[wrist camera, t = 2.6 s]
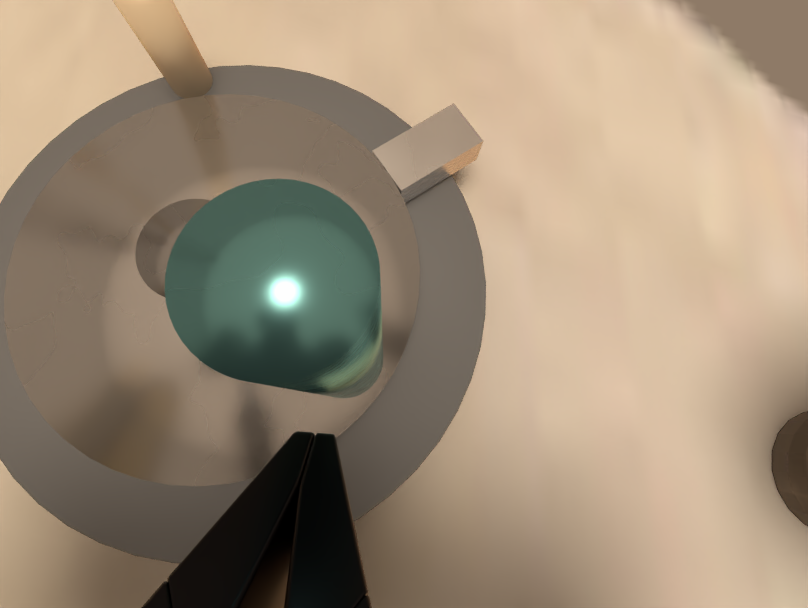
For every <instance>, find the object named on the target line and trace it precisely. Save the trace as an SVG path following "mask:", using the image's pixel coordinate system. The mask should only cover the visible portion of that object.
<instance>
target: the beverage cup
mask: <svg viewBox="0 0 808 608" xmlns="http://www.w3.org/2000/svg"><path fill="white" fill-rule="evenodd" d="M772 471H773V474H774V478H775V482H776V485H777V489H778V491H779V493H780V495H781V496H782V498H783V500H784V501H785V503H786V505H787V506H788V508H789V509H790V510H791V511H792V512H793V513H794V514H795V515H796V516H797V517H798V518H799V519H800V520H801V521H802V522H803V523H804V524H805V525H807V526H808V412H804V413H802V414H800V415H798V416H796V417H794V418H793V419H791V420H789V421H788V422H787V423H786V425H785V426H784V427H783V428H782V430H781V431H780V432H779V433H778V436H777V439H776V442H775V445H774V448H773V450H772Z"/></svg>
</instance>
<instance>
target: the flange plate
mask: <svg viewBox="0 0 808 608" xmlns="http://www.w3.org/2000/svg"><path fill="white" fill-rule="evenodd" d="M482 143H483V140H482V139H481V137H480V136H479V135H478V134H477V132H476V131H475V130H474V129H473V127H472V126H471V125H470V123H469V122H468V121H467V120H466V118H465V117H464V116H463V115H462V113H461V112H460V111H459V109H458V108H457V107H456V106H455V104H452V105H450V106H448V107H447V108H445V109H443V110H442V111H440V112H438V113H436V114H435V115H433V116H431V117H429V118H428V119H426V120H424V121H423V122H421V123H419V124H417V125H416V126H414V127H412V128H410V129H409V130H407V131H405V132H404V133H402V134H400V135H398V136H397V137H395V138H393V139H391V140H390V141H388V142H386V143H385V144H383V145H381V146H379V147H378V148H376V149H374V150H372V153H371V152H370V151H369V150H368V149H367V148H366V147H365V146H364V145H363V144H362V143H361V142H360V141H359V140H357V139H356V138H355V137H354V136H352V135H351V134H350V133H349V132H347V131H346V130H345V129H343V128H342V127H340V126H338V125H337V124H335V123H333V122H332V121H330V120H329V119H327V118H325V117H323V116H321V115H319V114H317V113H314V112H312V111H310V110H308V109H306V108H303V107H300V106H297V105H294V104H291V103H288V102H284V101H281V100H276V99H271V98H266V97H261V96H253V95H239V94H221V95H205V96H198V97H191V98H185V99H180V100H177V101H173V102H169V103H165V104H162V105H158V106H156V107H153V108H150V109H148V110H145V111H143V112H140V113H137V114H135V115H133V116H131V117H129V118H127V119H125V120H123V121H121V122H119V123H118V124H116V125H114V126H112V127H110V128H109V129H107V130H106V131H104V132H103V133H101V134H100V135H98V136H97V137H95V138H94V139H92V140H91V141H90V142H88V143H87V144H86V145H85V146H84V147H83V148H81V149H80V150H79V151H78V152H77V153H75V154H74V155H73V156H72V157H71V158H70V159H69V160H68V161H67V162H66V163H65V164H64V165H63V166H62V167H61V168H60V169H59V170H58V171H57V173H56V174H55V175H54V176H53V177H52V178H51V180H50V181H49V182H48V184H47V185H46V186H45V188H44V189H43V190H42V192H41V193H40V194H39V196H38V197H37V199H36V200H35V202H34V204H33V206H32V207H31V209H30V211H29V213H28V214H27V216H26V218H25V220H24V222H23V224H22V227H21V229H20V232H19V234H18V236H17V239H16V241H15V244H14V247H13V251H12V254H11V258H10V262H9V266H8V269H7V277H6V285H5V293H4V322H5V329H6V335H7V341H8V347H9V351H10V354H11V357H12V360H13V363H14V366H15V369H16V372H17V375H18V377H19V379H20V381H21V383H22V385H23V387H24V389H25V391H26V393H27V395H28V397H29V398H30V400H31V401H32V403H33V404H34V405H35V407H36V408H37V410H38V411H39V412H40V414H41V415H42V416H43V418H44V419H45V421H46V422H47V423H48V424H49V425H50V426H51V427H52V428H53V429H54V430H55V431H56V432H57V433H58V434H59V435H60V436H61V437H62V438H63V439H64V440H66V441H67V442H68V443H70V444H71V445H72V446H74V447H75V448H76V449H78V450H79V451H80V452H82V453H83V454H85V455H86V456H87V457H89V458H91V459H93V460H95V461H97V462H99V463H101V464H102V465H104V466H106V467H108V468H110V469H112V470H115V471H117V472H120V473H123V474H126V475H129V476H132V477H135V478H138V479H141V480H146V481H151V482H156V483H162V484H167V485H179V486H210V485H222V484H231V483H235V482H240V481H244V480H249V479H253V478H255V477H256V475H257V474H258V473H259V472H260V471H261V470H262V469H263V467H264V466H265V465H266V464H267V463H268V462H269V460H270V459H271V458H272V457H273V456H274V455H275V454H276V452H277V451H278V450H279V449H280V448H281V447H282V445H283V444H284V443H285V442H286V441H287V440H288V439H289V437H290V436H291V435H292V434H293V433H294V432H296V431H301V432H312V433H314V434H315V435H316V434H317V433H327V434H334V435H335V437H338V436H339V435H341V434H342V433H343V432H344V431H345V430H347V429H348V428H349V427H350V426H351V425H352V424H353V423H354V422H355V421H356V420H358V419H359V418H360V417H361V416H362V415H363V414H364V413H365V411H366V410H367V409H368V408H369V407H370V406H371V404H372V403H373V402H374V401H375V400H376V399H377V397H378V396H379V395H380V393H381V392H382V390H383V389H384V387H385V386H386V384H387V383H388V381H389V380H390V378H391V377H392V375H393V373H394V371H395V369H396V367H397V365H398V363H399V361H400V359H401V357H402V355H403V353H404V350H405V347H406V344H407V341H408V338H409V335H410V332H411V329H412V326H413V323H414V319H415V314H416V308H417V303H418V297H419V282H420V264H419V253H418V244H417V240H416V236H415V231H414V227H413V223H412V220H411V217H410V215H409V212H408V209H407V207H406V204H405V203H406V202H408V201H409V200H411V199H412V198H414V197H416V196H417V195H419V194H421V193H422V192H424V191H426V190H427V189H429V188H430V187H432V186H434V185H435V184H437V183H439V182H440V181H442V180H444V179H445V178H447V177H449V176H450V175H452V174H453V173H455V172H457V171H458V170H460V169H462V168H463V167H465V166H467V165H468V164H470V163H471V162H473V161H475V160H476V159H477V157H478V154H479V151H480V149H481V146H482Z"/></svg>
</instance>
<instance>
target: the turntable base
mask: <svg viewBox="0 0 808 608" xmlns="http://www.w3.org/2000/svg"><path fill="white" fill-rule="evenodd" d="M113 2H114V3H115V5H116V6H117V8H118V9H119V11H120V12H121V14H122V15H123V17H124V18H125V20H126V21H127V23H128V24H129V26H130V27H131V29H132V30H133V31H134V33H135V34H136V36H137V37H138V39H139V40H140V42H141V43H142V45H143V46H144V48H145V49H146V51H147V52H148V54H149V55H150V57H151V58H152V60H153V61H154V63H155V64H156V66H157V67H158V69H159V70H160V72H161V73H162V75H163V76H164V77H163V78H160V79H157V80H154V81H152V82H149V83H146V84H144V85H141V86H138V87H136V88H133V89H130V90H128V91H126V92H124V93H122V94H121V95H119V96H117V97H115V98H113V99H111V100H109V101H107V102H105V103H103V104H101V105H99V106H98V107H96V108H95V109H93V110H92V111H90V112H89V113H87V114H86V115H84V116H83V117H81V118H80V119H78V120H76V121H75V122H74V123H73V124H71V125H70V126H69V127H68V128H66V129H65V130H64V131H63V132H62V133H60V134H59V135H58V136H57V137H56V138H54V139H53V140H52V141H51V142H50V143H49V144H48V145H47V146H46V147H45V148H44V149H43V150H42V151H41V152H40V153H39V154H38V155H37V156H36V157H35V158H34V159H33V160H32V161H31V162H30V163H29V164H28V165H27V167H26V168H25V169H24V171H23V172H22V173H21V174H20V176H19V177H18V178H17V180H16V181H15V182H14V184H13V185H12V186H11V188H10V189H9V190H8V191H7V193H6V195H5V197H4V198H3V200H2V202H1V203H0V459H1V461H2V462H3V464H4V465H5V466H6V468H7V469H8V471H9V472H10V474H11V475H12V477H13V478H14V479H15V480H16V481H17V482H18V483H19V484H20V485H21V486H22V487H23V488H24V489H25V490H26V491H27V492H28V493H29V495H30V496H31V497H32V498H33V499H34V500H35V501H36V502H37V503H38V504H39V505H41V506H42V507H43V508H45V509H46V510H47V511H49V512H50V513H51V514H53V515H54V516H55V517H57V518H58V519H59V520H61V521H62V522H63V523H65V524H66V525H67V526H69V527H71V528H73V529H75V530H76V531H78V532H80V533H82V534H84V535H86V536H88V537H90V538H91V539H93V540H95V541H97V542H99V543H101V544H104V545H107V546H110V547H113V548H115V549H118V550H121V551H124V552H127V553H130V554H132V555H135V556H140V557H145V558H151V559H156V560H161V561H166V562H171V563H181V562H182V561H183V560H184V559H185V557H186V556H187V555H188V554H189V553H190V552H191V550H192V549H193V548H194V547H195V546H196V545H197V544H198V542H199V541H200V540H201V539H202V538H203V537H204V535H205V534H206V533H207V532H208V531H209V530H210V529H211V527H212V526H213V525H214V524H215V523H216V522H217V520H218V519H219V518H220V517H221V516H222V515H223V514H224V512H225V511H226V510H227V509H228V508H229V507H230V505H231V504H232V503H233V502H234V501H235V500H236V499H237V497H238V496H239V495H240V494H241V493H242V492H243V490H244V489H245V488H246V487H247V486H248V485H249V484H250V482H251V481H252V480H253V479H254V478H253V479H249V480H244V481H240V482H235V483H231V484H222V485H210V486H179V485H167V484H162V483H156V482H151V481H146V480H141V479H138V478H135V477H132V476H129V475H126V474H123V473H120V472H117V471H115V470H112V469H110V468H108V467H106V466H104V465H102V464H101V463H99V462H97V461H95V460H93V459H91V458H89V457H87V456H86V455H85V454H83V453H82V452H80V451H79V450H78V449H76V448H75V447H74V446H72V445H71V444H70V443H68V442H67V441H66V440H64V439H63V438H62V437H61V436H60V435H59V434H58V433H57V432H56V431H55V430H54V429H53V428H52V427H51V426H50V425H49V424H48V423H47V422H46V421H45V419H44V418H43V416H42V415H41V414H40V412H39V411H38V410H37V408H36V407H35V405H34V404H33V403H32V401H31V400H30V398H29V397H28V395H27V393H26V391H25V389H24V387H23V385H22V383H21V381H20V379H19V377H18V375H17V372H16V369H15V366H14V363H13V360H12V357H11V354H10V351H9V347H8V341H7V335H6V329H5V322H4V293H5V285H6V277H7V269H8V266H9V262H10V258H11V254H12V251H13V247H14V244H15V241H16V239H17V236H18V234H19V232H20V229H21V227H22V224H23V222H24V220H25V218H26V216H27V214H28V213H29V211H30V209H31V207H32V206H33V204H34V202H35V200H36V199H37V197H38V196H39V194H40V193H41V192H42V190H43V189H44V188H45V186H46V185H47V184H48V182H49V181H50V180H51V178H52V177H53V176H54V175H55V174H56V173H57V171H58V170H59V169H60V168H61V167H62V166H63V165H64V164H65V163H66V162H67V161H68V160H69V159H70V158H71V157H72V156H73V155H74V154H75V153H77V152H78V151H79V150H80V149H81V148H83V147H84V146H85V145H86V144H87V143H88V142H90V141H91V140H92V139H94V138H95V137H97V136H98V135H100V134H101V133H103V132H104V131H106V130H107V129H109V128H110V127H112V126H114V125H116V124H118V123H119V122H121V121H123V120H125V119H127V118H129V117H131V116H133V115H135V114H137V113H140V112H143V111H145V110H148V109H150V108H153V107H156V106H158V105H162V104H165V103H169V102H173V101H177V100H180V99H185V98H191V97H198V96H205V95H221V94H239V95H253V96H261V97H266V98H271V99H276V100H281V101H284V102H288V103H291V104H294V105H297V106H300V107H303V108H306V109H308V110H310V111H312V112H314V113H317V114H319V115H321V116H323V117H325V118H327V119H329V120H330V121H332V122H333V123H335V124H337V125H338V126H340V127H342V128H343V129H345V130H346V131H347V132H349V133H350V134H351V135H352V136H354V137H355V138H356V139H357V140H359V141H360V142H361V143H362V144H363V145H364V146H365V147H366V148H367V149H368V150H369V151H370V152H371V153H372V150H374V149H376V148H378V147H379V146H381V145H383V144H385V143H386V142H388V141H390V140H391V139H393V138H395V137H397V136H398V135H400V134H402V133H404V132H405V131H407V130H409V129H410V128H412V127H411V126H409V125H408V124H407V123H406V122H404V121H403V120H402V119H401V118H399V117H398V116H397V115H395V114H394V113H393V112H392V111H390V110H389V109H388V108H386V107H384V106H383V105H381V104H379V103H378V102H376V101H374V100H373V99H371V98H369V97H368V96H366V95H364V94H363V93H360V92H358V91H356V90H354V89H351V88H349V87H347V86H345V85H343V84H340V83H338V82H336V81H332V80H329V79H326V78H323V77H320V76H316V75H313V74H310V73H306V72H300V71H295V70H290V69H284V68H279V67H265V66H252V65H245V66H219V67H212V68H208V67H207V65H206V63H205V61H204V59H203V57H202V56H201V54H200V52H199V50H198V48H197V46H196V44H195V42H194V40H193V38H192V36H191V35H190V33H189V31H188V29H187V27H186V25H185V23H184V21H183V19H182V17H181V15H180V13H179V12H178V10H177V8H176V6H175V4H174V2H173V0H113ZM405 204H406V207H407V209H408V212H409V215H410V217H411V220H412V223H413V227H414V231H415V236H416V240H417V244H418V253H419V264H420V282H419V297H418V303H417V308H416V314H415V319H414V323H413V326H412V329H411V332H410V335H409V338H408V341H407V344H406V347H405V350H404V353H403V355H402V357H401V359H400V361H399V363H398V365H397V367H396V369H395V371H394V373H393V375H392V377H391V378H390V380H389V381H388V383H387V384H386V386H385V387H384V389H383V390H382V392H381V393H380V395H379V396H378V397H377V399H376V400H375V401H374V402H373V403H372V404H371V406H370V407H369V408H368V409H367V410H366V411H365V413H364V414H363V415H362V416H361V417H360V418H359V419H358V420H356V421H355V422H354V423H353V424H352V425H351V426H350V427H349V428H348V429H347V430H345V431H344V432H343V433H342V434H341V435H339V436H338V437H336V440H337V445H338V450H339V455H340V460H341V464H342V469H343V474H344V479H345V483H346V488H347V493H348V498H349V503H350V507H351V512H352V517H353V522H354V521H355V520H357V519H359V518H360V517H362V516H363V515H364V514H366V513H367V512H368V511H370V510H371V509H373V508H374V507H375V506H377V505H378V504H379V503H381V502H382V501H383V500H385V499H386V498H387V497H389V496H390V495H391V494H392V493H393V492H394V491H395V490H396V489H397V488H398V487H399V486H400V485H401V484H402V483H403V482H404V481H405V480H407V479H408V478H409V477H410V476H411V475H412V474H413V473H414V472H415V471H416V470H417V469H418V467H419V466H420V465H421V464H422V462H423V461H424V460H425V459H426V457H427V456H428V455H429V454H430V452H431V451H432V450H433V449H434V447H435V446H436V445H437V443H438V442H439V441H440V439H441V438H442V436H443V434H444V433H445V431H446V429H447V428H448V426H449V424H450V423H451V421H452V419H453V418H454V416H455V414H456V413H457V411H458V409H459V406H460V404H461V402H462V399H463V397H464V395H465V393H466V390H467V388H468V386H469V383H470V381H471V379H472V375H473V372H474V368H475V365H476V361H477V358H478V354H479V351H480V347H481V341H482V334H483V327H484V320H485V302H486V281H485V273H484V265H483V256H482V250H481V246H480V243H479V239H478V235H477V231H476V227H475V224H474V221H473V218H472V216H471V213H470V211H469V209H468V206H467V204H466V201H465V199H464V196H463V194H462V193H461V191H460V189H459V187H458V186H457V184H456V182H455V180H454V179H453V177H452V175H450V176H449V177H447V178H445V179H444V180H442V181H440V182H439V183H437V184H435V185H434V186H432V187H430V188H429V189H427V190H426V191H424V192H422V193H421V194H419V195H417V196H416V197H414V198H412V199H411V200H409V201H408V202H406V203H405Z"/></svg>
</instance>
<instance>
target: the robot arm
mask: <svg viewBox="0 0 808 608" xmlns="http://www.w3.org/2000/svg"><path fill="white" fill-rule="evenodd" d="M142 608H372V607H371V602H370V598H369V596H368V589H367V584H366V579H365V574H364V570H363V565H362V560H361V555H360V550H359V546H358V541H357V536H356V531H355V527H354V522H353V517H352V512H351V507H350V503H349V498H348V493H347V488H346V483H345V479H344V474H343V469H342V464H341V460H340V455H339V450H338V445H337V440H336V437H335V435H334V434H327V433H317V434H316V435H315V434H314V433H312V432H301V431H296V432H294V433H293V434H292V435H291V436H290V437H289V439H288V440H287V441H286V442H285V443H284V444H283V445H282V447H281V448H280V449H279V450H278V451H277V452H276V454H275V455H274V456H273V457H272V458H271V459H270V460H269V462H268V463H267V464H266V465H265V466H264V467H263V469H262V470H261V471H260V472H259V473H258V474H257V475H256V477H255V478H254V479H253V480H252V481H251V482H250V484H249V485H248V486H247V487H246V488H245V489H244V490H243V492H242V493H241V494H240V495H239V496H238V497H237V499H236V500H235V501H234V502H233V503H232V504H231V505H230V507H229V508H228V509H227V510H226V511H225V512H224V514H223V515H222V516H221V517H220V518H219V519H218V520H217V522H216V523H215V524H214V525H213V526H212V527H211V529H210V530H209V531H208V532H207V533H206V534H205V535H204V537H203V538H202V539H201V540H200V541H199V542H198V544H197V545H196V546H195V547H194V548H193V549H192V550H191V552H190V553H189V554H188V555H187V556H186V557H185V559H184V560H183V561H182V562H181V563H180V564H179V565H178V567H177V568H176V569H175V570H174V571H173V572H172V574H171V575H170V576H169V577H168V582H164V583H163V584H162V585H161V586H160V587H159V588H158V589H157V591H156V592H155V593H154V594H153V595H152V596H151V598H150V599H149V600H148V601H147V602H146V603H145V604H144V606H143V607H142Z"/></svg>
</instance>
